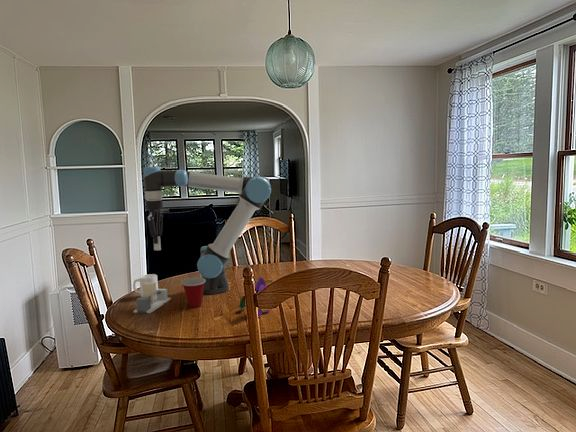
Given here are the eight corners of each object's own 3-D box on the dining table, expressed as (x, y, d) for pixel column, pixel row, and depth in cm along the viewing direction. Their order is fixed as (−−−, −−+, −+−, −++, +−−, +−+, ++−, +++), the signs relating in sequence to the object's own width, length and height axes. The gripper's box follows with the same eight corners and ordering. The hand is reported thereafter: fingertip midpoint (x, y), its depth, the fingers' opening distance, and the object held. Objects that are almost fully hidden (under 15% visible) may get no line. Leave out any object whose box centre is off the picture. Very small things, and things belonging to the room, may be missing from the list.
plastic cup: (180, 310, 191) (179, 283, 190) (184, 303, 202) (183, 277, 201) (205, 309, 192) (204, 282, 191) (208, 301, 203) (206, 276, 201)
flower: (236, 328, 181) (258, 318, 174) (221, 295, 184) (243, 284, 177) (256, 317, 194) (278, 307, 187) (243, 287, 196) (264, 276, 189)
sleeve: (148, 300, 200) (146, 282, 199) (157, 301, 199) (156, 282, 198) (143, 303, 196) (142, 284, 195) (153, 303, 195) (151, 284, 194)
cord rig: (155, 298, 210) (154, 286, 209) (170, 299, 209) (169, 287, 208) (133, 312, 190) (132, 299, 190) (150, 313, 189) (149, 299, 188)
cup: (155, 298, 211) (154, 278, 210) (130, 299, 211) (129, 278, 210) (160, 293, 219) (159, 273, 218) (136, 294, 219) (135, 274, 218)
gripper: (152, 199, 209) (156, 247, 211) (139, 201, 196) (143, 252, 198) (167, 198, 207) (171, 247, 210) (155, 201, 195) (158, 252, 197)
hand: (157, 250), depth 204 cm, fingers closed
